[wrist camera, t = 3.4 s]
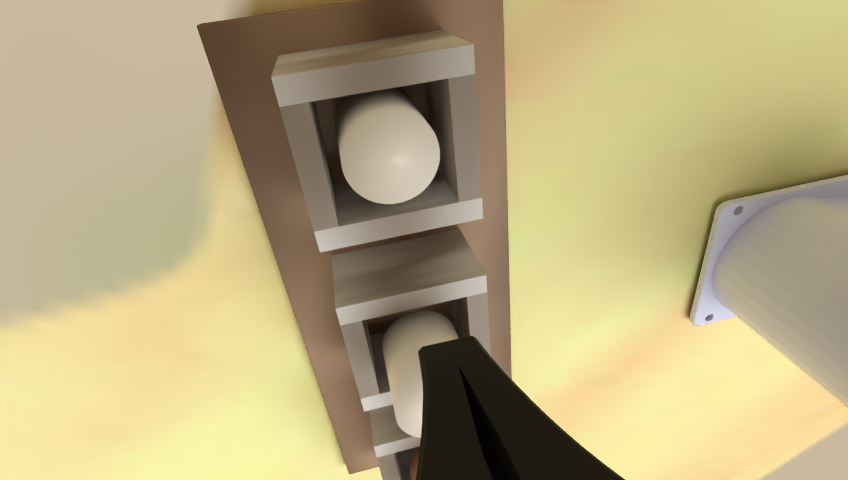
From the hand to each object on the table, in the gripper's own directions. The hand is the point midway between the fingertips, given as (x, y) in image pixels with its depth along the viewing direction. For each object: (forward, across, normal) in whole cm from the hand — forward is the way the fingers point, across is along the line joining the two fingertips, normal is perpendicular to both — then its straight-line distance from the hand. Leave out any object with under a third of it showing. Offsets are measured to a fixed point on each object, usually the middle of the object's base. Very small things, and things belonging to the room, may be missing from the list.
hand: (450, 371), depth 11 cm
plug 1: (+9, 0, -3) cm, 9 cm away
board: (+10, 0, +4) cm, 11 cm away
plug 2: (+6, 0, +4) cm, 8 cm away
